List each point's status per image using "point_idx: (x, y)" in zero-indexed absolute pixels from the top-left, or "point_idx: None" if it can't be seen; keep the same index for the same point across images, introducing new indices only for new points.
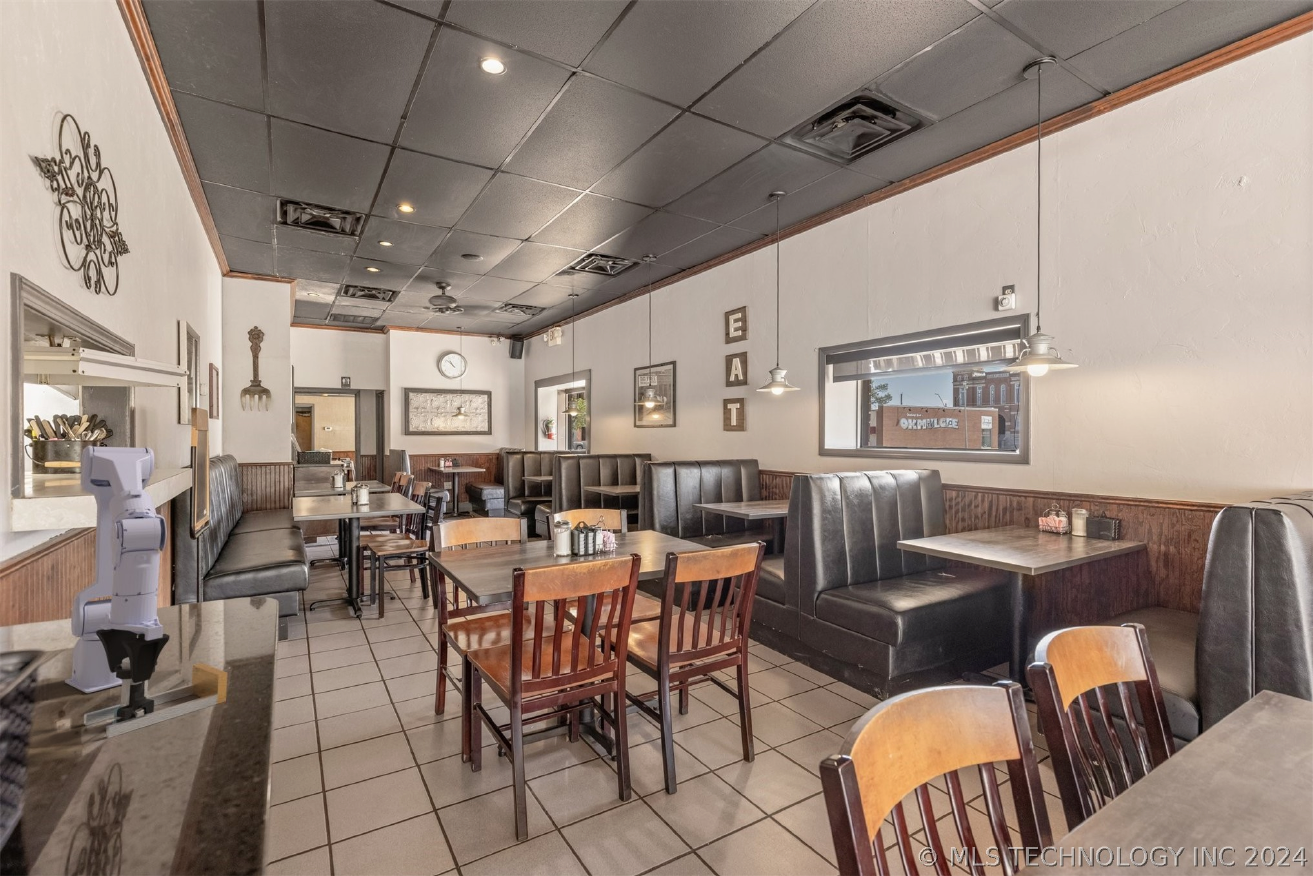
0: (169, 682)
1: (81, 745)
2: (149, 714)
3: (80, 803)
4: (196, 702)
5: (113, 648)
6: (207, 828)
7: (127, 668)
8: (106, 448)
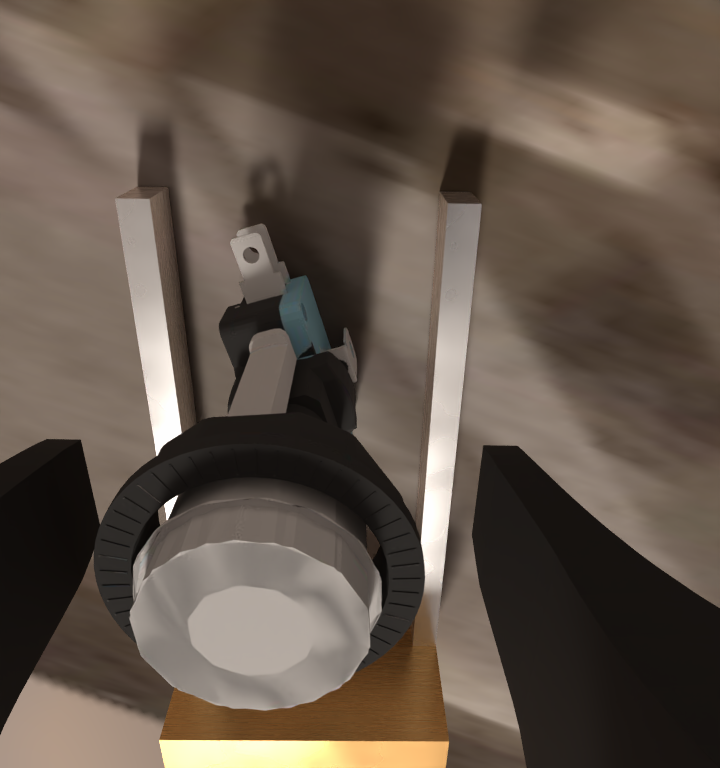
0: None
1: (142, 56)
2: (160, 397)
3: None
4: None
5: (556, 630)
6: None
7: (198, 509)
8: None
